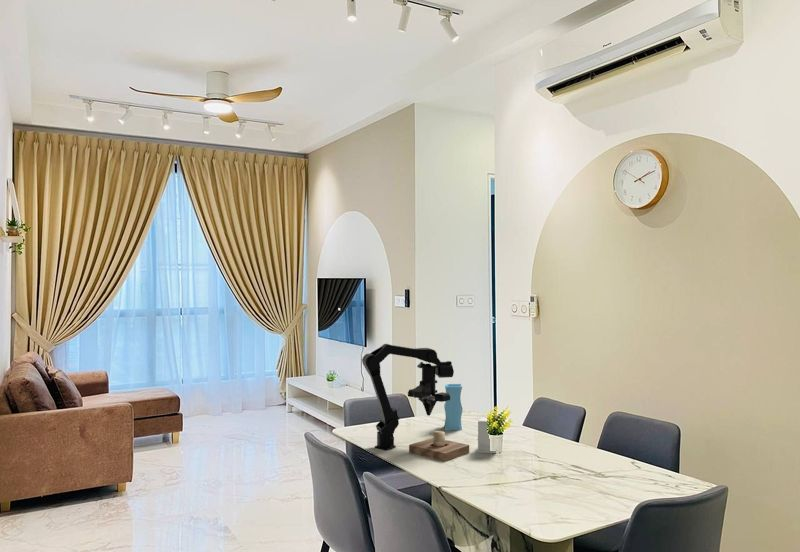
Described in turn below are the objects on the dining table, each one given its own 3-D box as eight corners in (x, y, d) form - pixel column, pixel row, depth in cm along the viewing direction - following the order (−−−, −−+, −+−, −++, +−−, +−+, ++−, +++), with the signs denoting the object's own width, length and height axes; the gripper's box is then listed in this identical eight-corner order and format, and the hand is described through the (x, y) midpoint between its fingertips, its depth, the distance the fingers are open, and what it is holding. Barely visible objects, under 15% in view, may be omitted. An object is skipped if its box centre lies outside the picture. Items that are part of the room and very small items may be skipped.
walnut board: (409, 452, 242) (409, 444, 242) (433, 444, 254) (433, 437, 254) (445, 461, 230) (445, 453, 230) (469, 452, 242) (469, 444, 242)
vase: (462, 430, 279) (462, 386, 279) (445, 430, 279) (445, 386, 279) (460, 426, 287) (461, 383, 287) (444, 426, 287) (444, 383, 287)
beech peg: (430, 452, 242) (430, 432, 242) (438, 450, 245) (438, 430, 246) (440, 454, 239) (440, 434, 239) (447, 452, 242) (447, 432, 242)
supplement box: (496, 453, 240) (496, 421, 241) (477, 452, 242) (477, 421, 242) (497, 448, 248) (497, 417, 248) (478, 447, 249) (478, 417, 249)
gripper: (399, 378, 255) (399, 415, 255) (434, 383, 243) (434, 422, 242) (416, 375, 263) (416, 411, 263) (450, 379, 251) (450, 417, 251)
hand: (428, 415), depth 255 cm, fingers closed
